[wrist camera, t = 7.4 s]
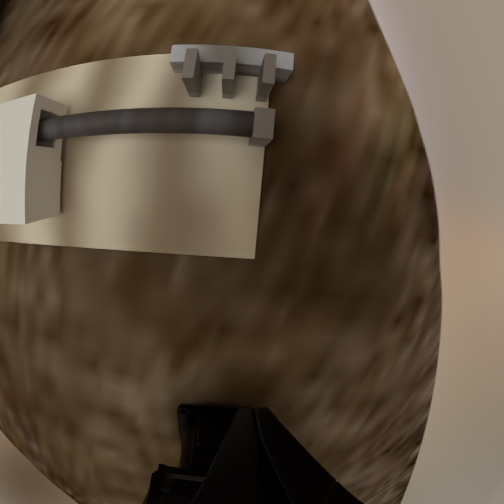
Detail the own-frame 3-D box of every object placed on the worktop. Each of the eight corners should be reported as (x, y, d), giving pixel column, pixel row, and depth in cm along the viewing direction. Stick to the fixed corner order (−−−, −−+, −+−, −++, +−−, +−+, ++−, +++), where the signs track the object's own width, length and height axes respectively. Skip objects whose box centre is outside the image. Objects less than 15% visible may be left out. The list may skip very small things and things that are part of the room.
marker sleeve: (68, 106, 14) (36, 93, 10) (60, 215, 16) (25, 224, 12) (28, 114, 13) (-6, 106, 10) (20, 214, 15) (-14, 223, 11)
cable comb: (286, 64, 15) (302, 33, 11) (269, 257, 18) (282, 281, 14) (-8, 93, 13) (-39, 84, 9) (-19, 237, 16) (-51, 249, 12)
